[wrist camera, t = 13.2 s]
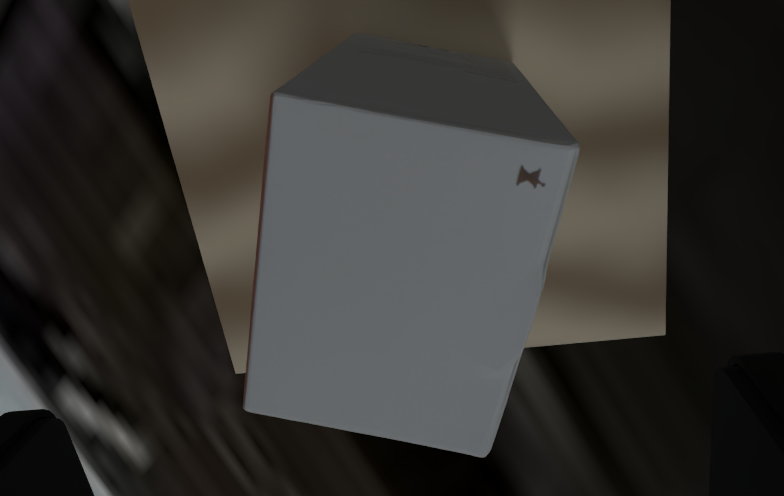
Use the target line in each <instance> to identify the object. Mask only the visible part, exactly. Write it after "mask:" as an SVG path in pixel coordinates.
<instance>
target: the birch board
mask: <svg viewBox="0 0 784 496" xmlns="http://www.w3.org/2000/svg"><path fill="white" fill-rule="evenodd" d="M128 2H129V6H130V9H131V13H132V16H133V20H134V23H135V27H136V30H137V33H138V37H139V40H140V44H141V47H142V51H143V54H144V58H145V61H146V65H147V68H148V72H149V75H150V78H151V82H152V85H153V89H154V92H155V96H156V99H157V103H158V106H159V110H160V113H161V116H162V120H163V123H164V127H165V130H166V134H167V137H168V141H169V144H170V148H171V151H172V155H173V158H174V161H175V165H176V168H177V172H178V175H179V179H180V182H181V186H182V189H183V193H184V196H185V200H186V203H187V206H188V210H189V213H190V217H191V220H192V224H193V227H194V231H195V234H196V238H197V241H198V245H199V248H200V251H201V255H202V258H203V262H204V265H205V269H206V272H207V276H208V279H209V283H210V286H211V289H212V293H213V296H214V300H215V303H216V307H217V310H218V314H219V317H220V321H221V324H222V328H223V331H224V334H225V338H226V341H227V345H228V348H229V352H230V355H231V359H232V362H233V366H234V369H235V373H236V374H237V373H246V363H247V352H248V340H249V328H250V315H251V303H252V292H253V281H254V270H255V260H256V248H257V236H258V225H259V214H260V202H261V191H262V179H263V168H264V157H265V147H266V136H267V125H268V115H269V104H270V96H271V93H273V92H274V91H275V90H277V89H278V88H280V87H281V86H283V85H284V84H286V83H287V82H288V81H289V80H291V79H292V78H294V77H295V76H297V75H298V74H299V73H301V72H302V71H303V70H305V69H306V68H308V67H309V66H310V65H312V64H313V63H315V62H316V61H317V60H319V59H320V58H321V57H323V56H324V55H326V54H327V53H328V52H330V51H331V50H332V49H334V48H335V47H336V46H338V45H339V44H341V43H342V42H344V41H345V40H347V39H348V38H349V37H351V36H352V35H354V34H355V33H361V34H366V35H371V36H377V37H382V38H387V39H393V40H398V41H403V42H408V43H413V44H418V45H423V46H429V47H434V48H439V49H445V50H450V51H455V52H461V53H466V54H471V55H477V56H482V57H487V58H493V59H498V60H503V61H509V62H513V63H514V64H515V65H516V67H517V68H518V69H519V70H520V72H522V74H523V75H524V76H525V77H526V79H527V80H528V81H529V82H530V84H531V85H532V86H533V88H534V89H535V90H536V91H537V93H538V94H539V95H540V96H541V98H542V99H543V100H544V101H545V102H546V104H547V105H548V106H549V107H550V109H551V110H552V111H553V112H554V114H555V115H556V116H557V117H558V118H559V120H560V121H561V122H562V123H563V125H564V126H565V127H566V128H567V130H568V131H569V132H570V134H571V135H572V136H573V137H574V138H575V139H576V140H577V142H578V143H579V145H580V151H579V156H578V159H577V163H576V166H575V170H574V173H573V177H572V180H571V184H570V187H569V190H568V194H567V198H566V201H565V205H564V209H563V212H562V216H561V219H560V222H559V226H558V229H557V233H556V237H555V240H554V244H553V247H552V251H551V254H550V258H549V263H548V267H547V272H546V278H545V283H544V287H543V290H542V293H541V296H540V299H539V304H538V307H537V311H536V315H535V318H534V321H533V324H532V327H531V330H530V333H529V335H528V338H527V341H526V343H525V346H524V348H526V347H537V346H548V345H559V344H570V343H581V342H592V341H603V340H615V339H626V338H637V337H648V336H659V335H665V325H666V260H667V196H668V131H669V67H670V3H671V0H128Z"/></svg>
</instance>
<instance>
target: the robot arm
mask: <svg viewBox="0 0 784 496" xmlns="http://www.w3.org/2000/svg"><path fill="white" fill-rule="evenodd" d="M0 496H94V494H93V491H92V489H91V487H90V484H89V482H88V479H87V477H86V474H85V472H84V470H83V467H82V465H81V462H80V460H79V457H78V455H77V453H76V450H75V448H74V445H73V443H72V440H71V438H70V435H69V433H68V431H67V428H66V426H65V424H64V423H63V421H61V420H60V419H58V418H56V417H55V415H54V414H53V413H51V412H50V411H49V410H45V409H39V410H26V411H13V412H8V413H4V414H3V415H2V416H0ZM709 496H784V354H783V353H780V352H771V353H758V354H745V355H733V356H732V357H731V358H730V360H729V362H728V367H723V368H718V369H716V372H715V376H714V394H713V417H712V440H711V463H710V486H709Z"/></svg>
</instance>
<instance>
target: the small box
mask: <svg viewBox="0 0 784 496" xmlns="http://www.w3.org/2000/svg"><path fill="white" fill-rule="evenodd" d="M579 151H580V145H579V143H578V142H577V140H576V139H575V138H574V137H573V136H572V135H571V134H570V132H569V131H568V130H567V128H566V127H565V126H564V125H563V123H562V122H561V121H560V120H559V118H558V117H557V116H556V115H555V114H554V112H553V111H552V110H551V109H550V107H549V106H548V105H547V104H546V102H545V101H544V100H543V99H542V98H541V96H540V95H539V94H538V93H537V91H536V90H535V89H534V88H533V86H532V85H531V84H530V82H529V81H528V80H527V79H526V77H525V76H524V75H523V74H522V72H520V70H519V69H518V68H517V67H516V65H515V64H514V63H513V62H509V61H503V60H498V59H493V58H487V57H482V56H477V55H471V54H466V53H461V52H455V51H450V50H445V49H439V48H434V47H429V46H423V45H418V44H413V43H408V42H403V41H398V40H393V39H387V38H382V37H377V36H371V35H366V34H361V33H355V34H354V35H352V36H351V37H349V38H348V39H347V40H345V41H344V42H342V43H341V44H339V45H338V46H336V47H335V48H334V49H332V50H331V51H330V52H328V53H327V54H326V55H324V56H323V57H321V58H320V59H319V60H317V61H316V62H315V63H313V64H312V65H310V66H309V67H308V68H306V69H305V70H303V71H302V72H301V73H299V74H298V75H297V76H295V77H294V78H292V79H291V80H289V81H288V82H287V83H286V84H284V85H283V86H281V87H280V88H278V89H277V90H275V91H274V92H273V93H271V96H270V104H269V115H268V125H267V136H266V147H265V157H264V168H263V179H262V191H261V202H260V214H259V225H258V236H257V248H256V260H255V270H254V281H253V292H252V303H251V315H250V328H249V340H248V352H247V363H246V375H245V386H244V399H243V409H244V410H246V411H248V412H252V413H257V414H263V415H268V416H273V417H278V418H283V419H288V420H294V421H300V422H305V423H311V424H316V425H321V426H326V427H331V428H336V429H342V430H347V431H352V432H357V433H362V434H368V435H373V436H378V437H384V438H389V439H394V440H400V441H405V442H410V443H415V444H420V445H425V446H429V447H434V448H439V449H444V450H449V451H454V452H459V453H464V454H468V455H473V456H477V457H485V456H486V455H487V454H488V453H489V452H490V450H491V448H492V445H493V442H494V439H495V436H496V433H497V430H498V427H499V424H500V421H501V418H502V415H503V412H504V408H505V405H506V402H507V399H508V396H509V392H510V389H511V386H512V383H513V380H514V377H515V373H516V370H517V367H518V364H519V360H520V358H521V355H522V352H523V349H524V346H525V343H526V341H527V338H528V335H529V333H530V330H531V327H532V324H533V321H534V318H535V315H536V311H537V307H538V304H539V299H540V296H541V293H542V290H543V287H544V283H545V278H546V272H547V267H548V263H549V258H550V254H551V251H552V247H553V244H554V240H555V237H556V233H557V229H558V226H559V222H560V219H561V216H562V212H563V209H564V205H565V201H566V198H567V194H568V190H569V187H570V184H571V180H572V177H573V173H574V170H575V166H576V163H577V159H578V156H579Z"/></svg>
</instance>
